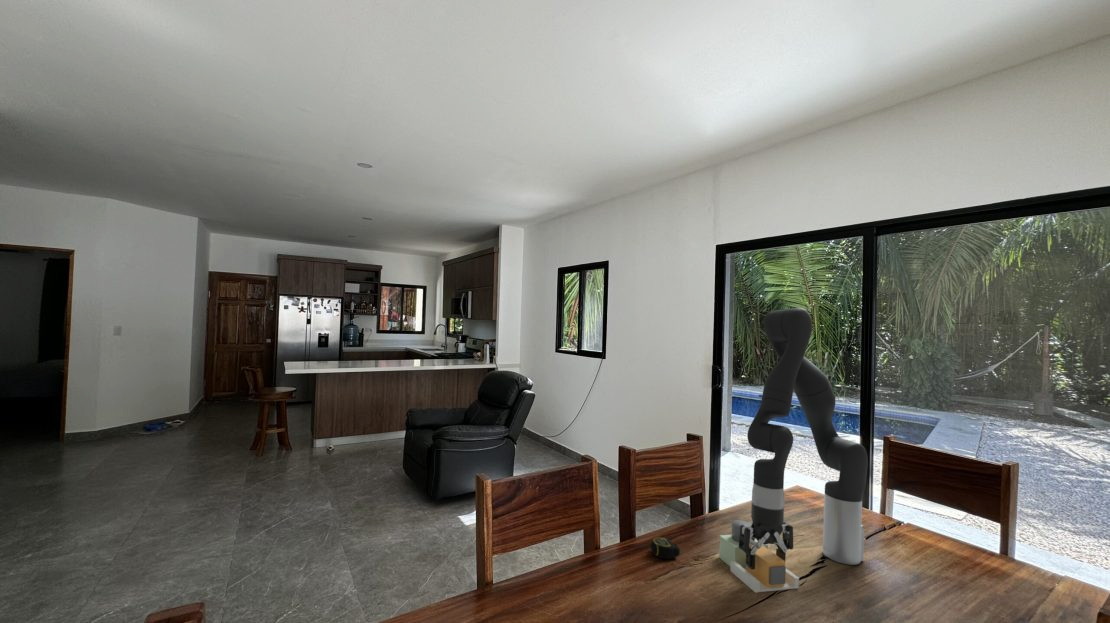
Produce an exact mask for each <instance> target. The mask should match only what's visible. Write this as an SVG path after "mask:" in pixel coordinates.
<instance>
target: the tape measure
mask: <svg viewBox="0 0 1110 623" xmlns="http://www.w3.org/2000/svg"><path fill="white" fill-rule="evenodd" d="M650 550H651V552H652V554H653V555H654V556H656V557H658V558H661V559H664V560H666V559H667V560H668V559H669V560H670V559H672V558H677V557H679V555H680V554H681V549H680V548H679V546H677V545H676V544H675V543H674V542H673V541H672V540H670V539H669V538H668V537H666V536H663V537H654V538H653V539H652V540H651V542H650Z"/></svg>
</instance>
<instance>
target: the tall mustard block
mask: <svg viewBox="0 0 1110 623" xmlns="http://www.w3.org/2000/svg"><path fill="white" fill-rule="evenodd" d="M751 548H752V547H751ZM754 555H755V569H754V570H751V569H750V568H749V567H748V566H747V565H746V571H748V572H749V573H750V574H751V575H752V576H754V577H755V578H756V579H757V580H758V581H760V582H761V583H762V584H763V585H764V586H766V587H767V588H769V587H779V586H784V584H785V575H786V569H787V568H786V567H787V566H786V560H785V561H784V560H783V559H781V558H780V557H778V556H777V555H776V553H774V552H773V551H771V550H770V549H769V548H768V549H767V548H766V547H764V546H761V548H759V549H758V550H757V551H756V553H755V554H754Z"/></svg>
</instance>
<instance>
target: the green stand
mask: <svg viewBox="0 0 1110 623" xmlns="http://www.w3.org/2000/svg"><path fill="white" fill-rule="evenodd" d="M741 525H744V526H746V527H751V525H752V522H748V521H746V520H740V519H737V520H733V521H731V534H721V535H719V545H718V546H719V550H718V557H719V559H720V560H722V561H723V562H724V563H725V564H726V565H727V566H729V568H730V572H731V573H732V574H733V575H734V576H736V577H737V578H738V579H739V580H740V581H741V582H742V583H743V584H744V585H746V587H748V588H749V589H751V590H752V591H753V592H754V593H756V594H757V593H765V592H773V591H774V592H775V591H783V590H794V589H796V590H797V589H799V588H800V578H799V577H798V576H797V575H795V574H794V573H793V572H792V571H790V570H789V569H787V568H786V575H785V584H784V586H779V587H769V588H767V587H766V586H764V585H763V584H762V583H761V582H760V581H758V580H757V579H756V578H755V577H754V576H752V575H751V574H750V573H749V572H748V571H746V553H745V552H744V551H743V550H741V549H740V548H739V537H740V527H741ZM751 535H752V533H751ZM755 542H758V541H757V539H755ZM762 546H764V547H766V548H767V549H768V550H769V544H766V545H762ZM752 547H753V546H752Z"/></svg>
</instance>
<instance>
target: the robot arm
mask: <svg viewBox="0 0 1110 623" xmlns="http://www.w3.org/2000/svg"><path fill="white" fill-rule="evenodd" d="M763 318H764V319H763V329H764V332H765V335H766V337H767V340H768V341H769V343H770V345H771V346H772V348H773V350H774V352H775V353H776V355H777V357H778V358H779V360H778V361H777V363H776V365H774V367H773V368H772V370H771V371H770V372H769V374H768V376H767V378H766V379H765V381H764V384H763V389H762V390H763V391H762V396H761V400H760V401H761V402H760V405H759V408H758V409H757V412H756V414H755V415H754V418H753V420H752V422H750V423H751V424H750V425H749V427H748V431H747V442H748V444H749V445H750V447H752V448H753V449H756V450H761V451H762V452H763V451H764V452H768V453H774V456H773V458H771V459H770V458H769V459H768V458H762V459H761V458H760V459H757V460H755V461H754V465H753V482H752V483H753V484H752V489H751V508H750V509H751V510H750V512H751V513H750V517H751V521H752V522H751V524H752V525H751V527H746V526H744V525H741V527H740V537H739V548H740V549H741V550H743V551H744V552H745V553H746V565H747V566H748V567H749V568H750V569H751V570H754V569H755V555H754V554H755V553H756V551H757V550H758V549H759V548H761V546H762V545H766V544H767V545H775V547H776V549H775V554H776V555H777V556H778V557H780V558H781V559H783V560H784V561H785V562H786V560H787V559H786V557H787V556H786V553H787V552H788V551H789V550H793V549H794V527H793V525H791V524H789V523H788V522H786V521H784V518H785V516H784V515H785V490H784V488H785V486H784V485H785V484H784V480H785V470H786V465H787V462H788V458H789V455H790V453H791V450H792V447H793V445H794V436H793V433H792V431H791V429H790V428H789V427H787V426H784V425H781V424H780V425H779V424H773V423H770V422H771V421H772V419H779V418H787V417H788V416H789V415H790V413H791V407H792V401H793V395H794V394H795V395H796V399H797V400H798V403H799V405H800V406H801V409H802V411H803V413H804V416H805V418H806V421H807V423H808V426H809V428H810V431H811V433H812V436H813V437H812V438H813V440H814V443H815V447H816V451H817V454H818V456H819V457H820V458H819V459H820V460H821V462H822V463H823V464H824V465H825V466H827V467H828V468H830V469H833V470H835V471H838V472H839V475H838V480H830V481H827V482H826V483H825V485H824V497H823V498H824V501H823V502H824V504H823V532H822V533H823V534H822V553H823V555H824V556H825V557H826V558H829V560H832V561H834V562H837V563H840V564H844V565H851V566H852V565H853V566H855V565H856V566H857V565H860V564H861V562H863V561H864V556H865V555H864V554H865V553H864V551H865V548H864V547H865V526H864V525H863V524H862V519H863V518H862V517H863V497H864V496H863V495H864V493H865V490H866V485H867V475H868V466H869V457H868V453H867V449H866V448H865V447H864V445H862V444H860V443H859V442H856V441H853V440H848V439H845V438H842V437H840V436H839V434H838V432H837V430H836V429H835V426H834V424H833V423H834V422H833V415H834V411H835V408H836V395H835V393H834V390H833V387H832V386H831V384H830V381H829V379H828V377H827V376H826V374H825V373H824V372H823V371H822V370H821V369H820V368H819V367H817V366H816V365H815V364H814V363H813V362H812V361H810V360H809V359H808V358H807V357H806V356H805V354H806V350H807V348H808V346H809V343H810V340H811V336H812V332H813V320H812V316H811V314H810V312H809V311H808V310H806V309H804V308H802V307H796V308H786V309H781V310H780V309H778V310H772V311H769V312H767V313H766V315H765V316H764V317H763ZM751 533H752V535H751ZM781 534H782V538H781ZM755 539H757V541H758V542H755ZM752 546H753V547H752ZM751 547H752V548H751Z"/></svg>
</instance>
